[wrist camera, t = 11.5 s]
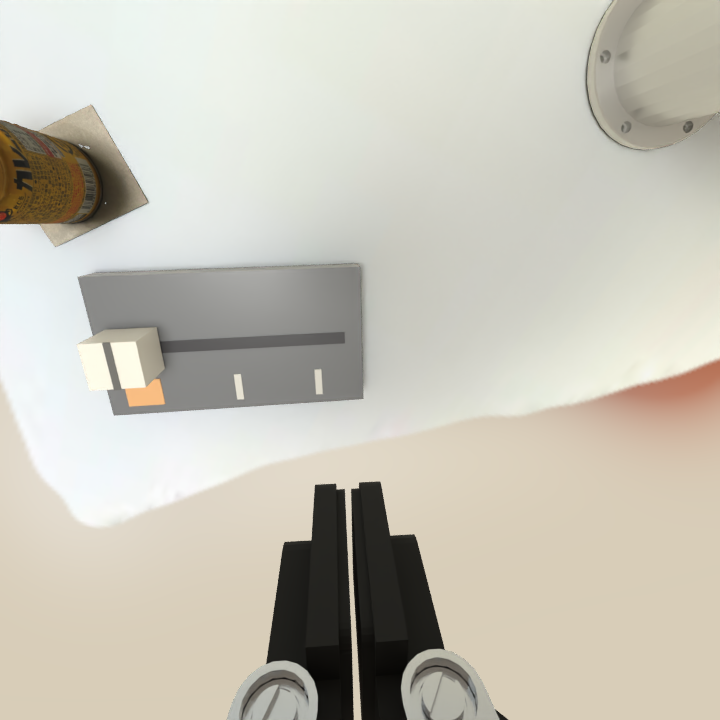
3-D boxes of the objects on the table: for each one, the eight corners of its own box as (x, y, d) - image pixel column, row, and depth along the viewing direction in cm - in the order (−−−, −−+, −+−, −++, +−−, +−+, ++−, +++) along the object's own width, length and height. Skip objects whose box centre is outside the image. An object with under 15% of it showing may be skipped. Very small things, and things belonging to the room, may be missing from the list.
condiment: (-8, 154, 30) (-205, 115, 18) (92, 105, 29) (-47, 34, 18) (56, 247, 32) (-82, 262, 21) (149, 202, 32) (59, 193, 21)
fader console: (357, 263, 35) (360, 266, 33) (360, 388, 39) (363, 399, 37) (94, 272, 33) (77, 277, 31) (126, 403, 37) (113, 416, 35)
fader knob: (156, 326, 32) (134, 341, 28) (164, 369, 34) (145, 388, 30) (104, 329, 32) (75, 344, 28) (115, 371, 33) (89, 391, 29)
